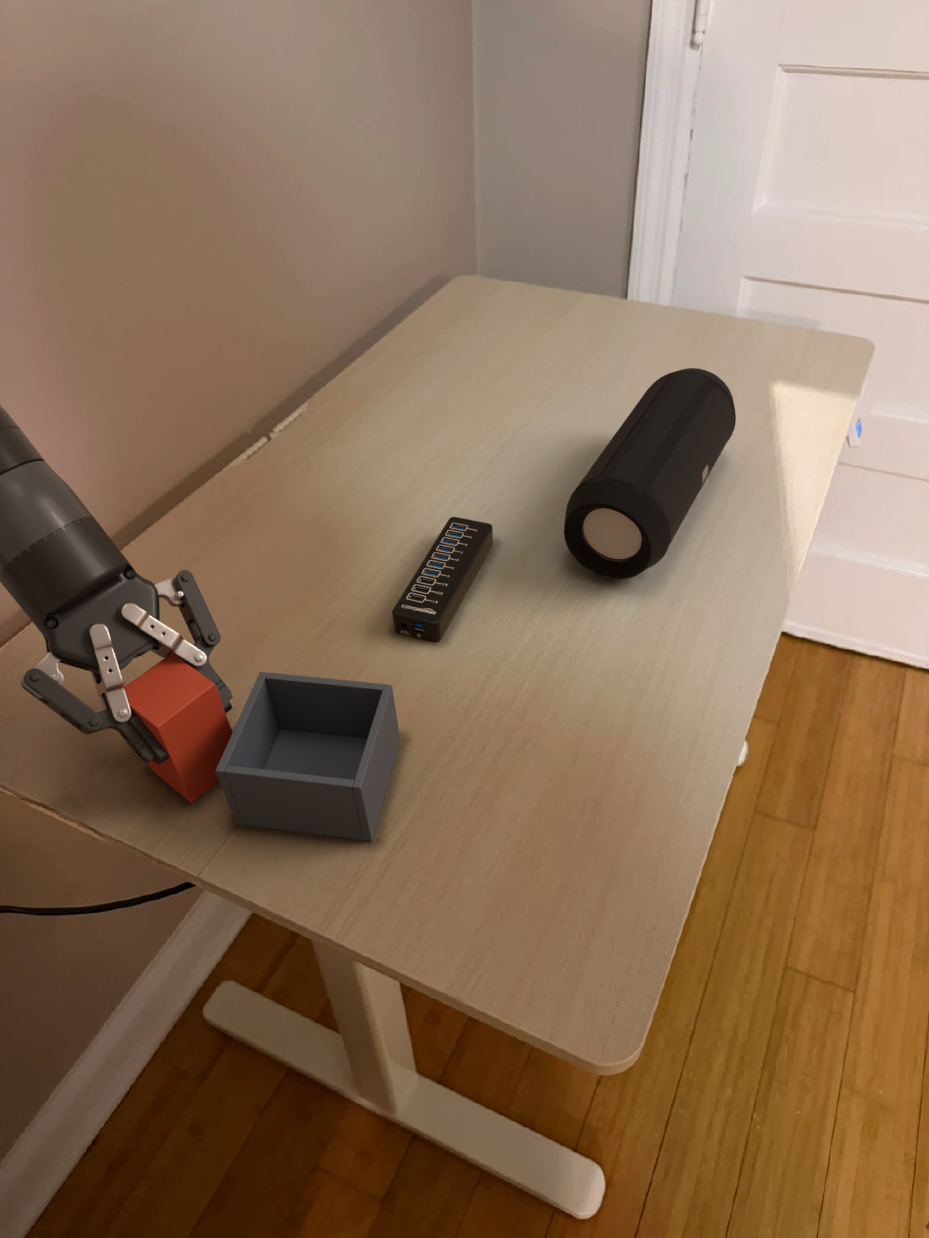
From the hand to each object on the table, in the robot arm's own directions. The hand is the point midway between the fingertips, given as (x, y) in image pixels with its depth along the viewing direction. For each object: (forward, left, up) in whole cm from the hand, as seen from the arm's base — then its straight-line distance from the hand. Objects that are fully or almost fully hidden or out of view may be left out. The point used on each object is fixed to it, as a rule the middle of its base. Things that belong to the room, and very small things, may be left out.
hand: (195, 734), depth 64 cm
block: (-2, +1, -5) cm, 5 cm away
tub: (+8, +1, -5) cm, 10 cm away
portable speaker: (+32, +38, -5) cm, 50 cm away
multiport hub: (+14, +24, -5) cm, 28 cm away
